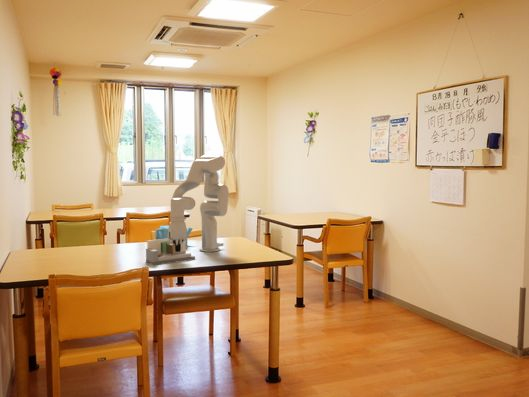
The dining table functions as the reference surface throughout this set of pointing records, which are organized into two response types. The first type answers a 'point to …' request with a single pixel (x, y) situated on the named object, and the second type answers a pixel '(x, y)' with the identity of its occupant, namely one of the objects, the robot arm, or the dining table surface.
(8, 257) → the dining table surface
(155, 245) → the gauge base
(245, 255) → the dining table surface
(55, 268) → the dining table surface
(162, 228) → the container
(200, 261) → the dining table surface
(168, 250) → the gauge slider
